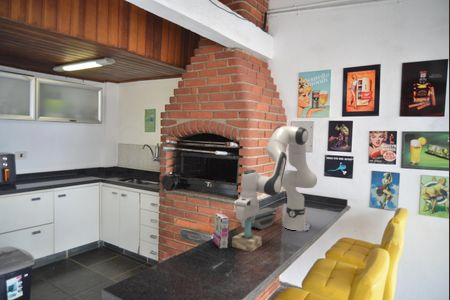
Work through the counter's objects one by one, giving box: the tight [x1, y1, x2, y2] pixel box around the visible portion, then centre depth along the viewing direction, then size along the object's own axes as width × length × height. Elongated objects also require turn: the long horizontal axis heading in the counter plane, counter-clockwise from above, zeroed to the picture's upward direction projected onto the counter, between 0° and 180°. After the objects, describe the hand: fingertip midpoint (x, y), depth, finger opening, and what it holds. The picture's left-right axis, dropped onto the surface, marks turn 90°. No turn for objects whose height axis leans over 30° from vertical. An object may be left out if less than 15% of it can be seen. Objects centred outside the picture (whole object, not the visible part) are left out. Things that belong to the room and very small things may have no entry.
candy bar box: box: [212, 212, 230, 249], centre depth 163 cm, size 11×5×16 cm, turn 21°
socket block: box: [231, 231, 263, 253], centre depth 163 cm, size 12×12×5 cm
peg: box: [243, 219, 252, 239], centre depth 163 cm, size 4×4×14 cm
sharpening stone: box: [246, 206, 278, 230], centre depth 201 cm, size 25×8×11 cm, turn 138°
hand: (247, 224), depth 163 cm, fingers open, 8 cm apart
